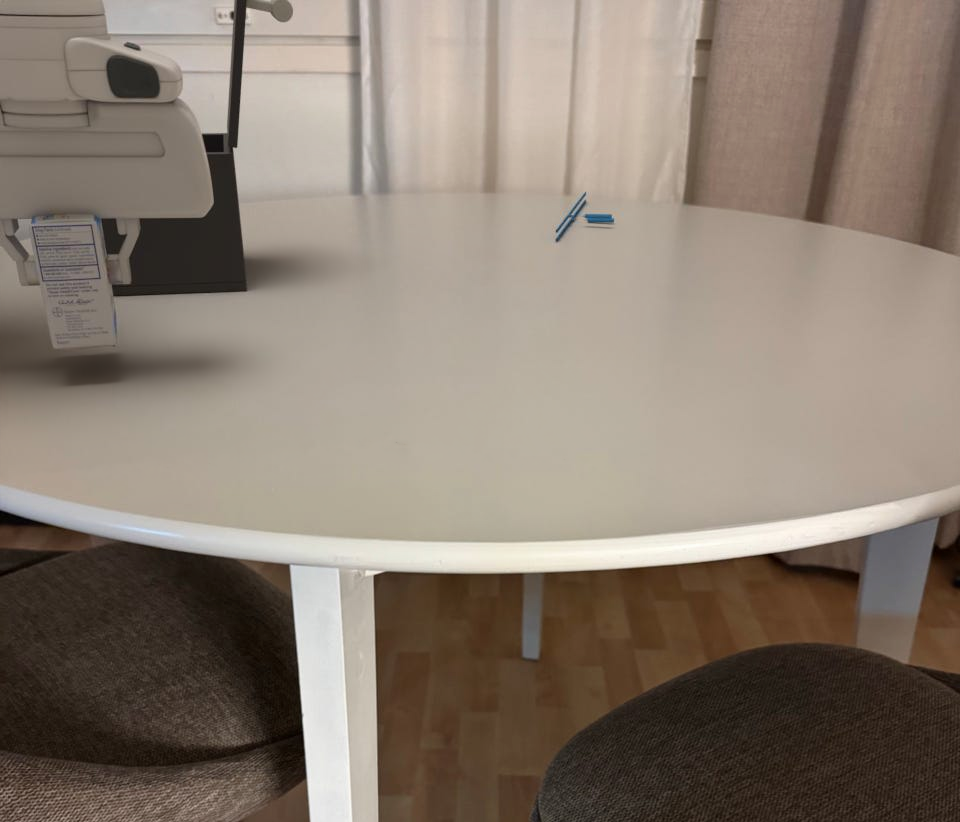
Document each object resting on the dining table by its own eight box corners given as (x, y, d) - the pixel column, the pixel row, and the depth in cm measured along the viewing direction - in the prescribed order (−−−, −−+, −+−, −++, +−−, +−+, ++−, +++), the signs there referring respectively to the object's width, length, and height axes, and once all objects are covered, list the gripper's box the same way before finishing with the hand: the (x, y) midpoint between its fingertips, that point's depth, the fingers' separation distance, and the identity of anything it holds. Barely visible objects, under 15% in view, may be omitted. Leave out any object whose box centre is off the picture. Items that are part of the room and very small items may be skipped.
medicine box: (118, 348, 76) (98, 219, 71) (51, 352, 74) (27, 221, 70) (117, 317, 82) (98, 197, 77) (55, 320, 81) (33, 199, 76)
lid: (238, -34, 86) (298, -21, 87) (236, -34, 97) (289, -23, 98) (227, 146, 92) (283, 156, 94) (226, 127, 104) (276, 135, 105)
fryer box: (106, 296, 97) (82, 155, 91) (118, 261, 108) (97, 134, 102) (247, 290, 99) (233, 153, 93) (244, 257, 110) (231, 133, 104)
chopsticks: (625, 191, 138) (585, 191, 139) (602, 229, 117) (555, 228, 118) (624, 203, 139) (584, 202, 140) (602, 243, 118) (555, 242, 119)
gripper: (-147, 66, 64) (-89, 298, 72) (200, 72, 68) (221, 291, 76) (-120, 57, 69) (-68, 275, 77) (201, 63, 73) (221, 270, 81)
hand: (78, 283), depth 76 cm, fingers closed on medicine box, 4 cm apart
